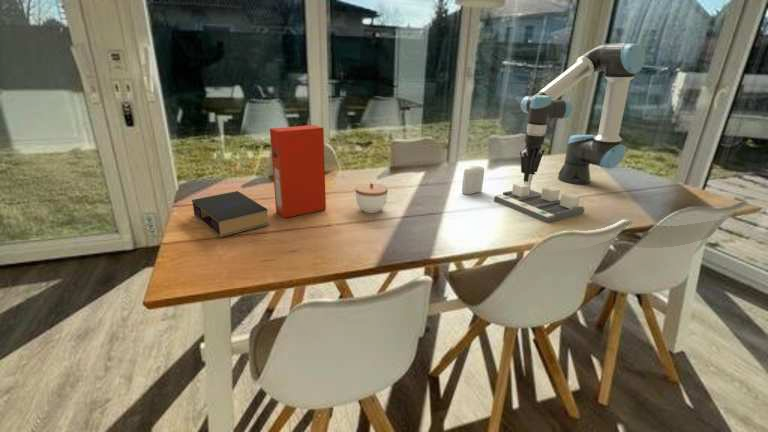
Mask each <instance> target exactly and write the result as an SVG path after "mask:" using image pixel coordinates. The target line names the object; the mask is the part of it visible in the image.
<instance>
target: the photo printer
mask: <svg viewBox="0 0 768 432" xmlns="http://www.w3.org/2000/svg"><path fill="white" fill-rule="evenodd" d="M484 175H485V168H484V167H483V166H481V165H471V166H468V167H467V168H465V169H464V170H463V179H462V185H461V186H462V187H461V192H462V194H463V195H471V194H476V193H481V192H482V191H483V184H484Z"/></svg>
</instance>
